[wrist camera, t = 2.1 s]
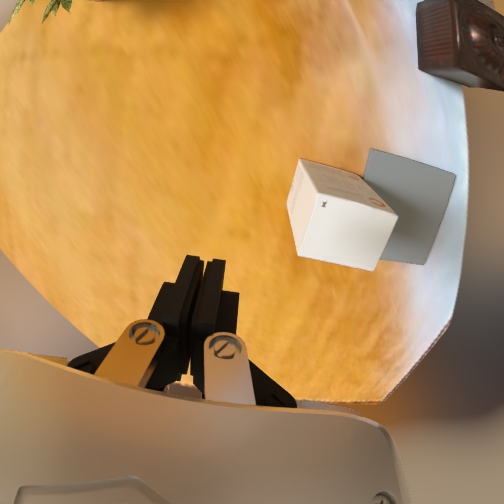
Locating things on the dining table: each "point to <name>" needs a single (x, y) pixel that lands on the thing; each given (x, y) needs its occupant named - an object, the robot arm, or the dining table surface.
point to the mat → (409, 202)
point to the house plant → (48, 7)
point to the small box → (338, 217)
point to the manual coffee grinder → (461, 42)
